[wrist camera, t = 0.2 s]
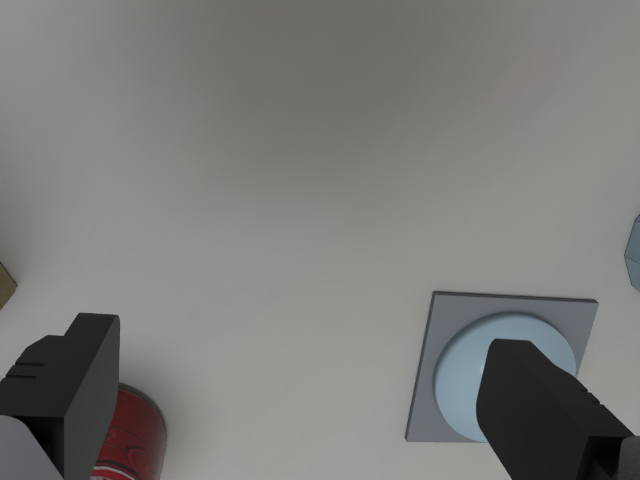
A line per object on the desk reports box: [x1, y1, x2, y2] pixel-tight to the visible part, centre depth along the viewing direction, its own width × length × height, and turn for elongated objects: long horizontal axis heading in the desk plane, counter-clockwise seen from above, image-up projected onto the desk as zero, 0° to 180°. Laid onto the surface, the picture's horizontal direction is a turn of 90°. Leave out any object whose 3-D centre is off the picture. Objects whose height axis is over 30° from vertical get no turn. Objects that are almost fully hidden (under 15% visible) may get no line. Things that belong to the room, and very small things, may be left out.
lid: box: [432, 312, 576, 443], centre depth 29 cm, size 8×8×12 cm
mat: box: [405, 292, 599, 443], centre depth 34 cm, size 10×10×1 cm
